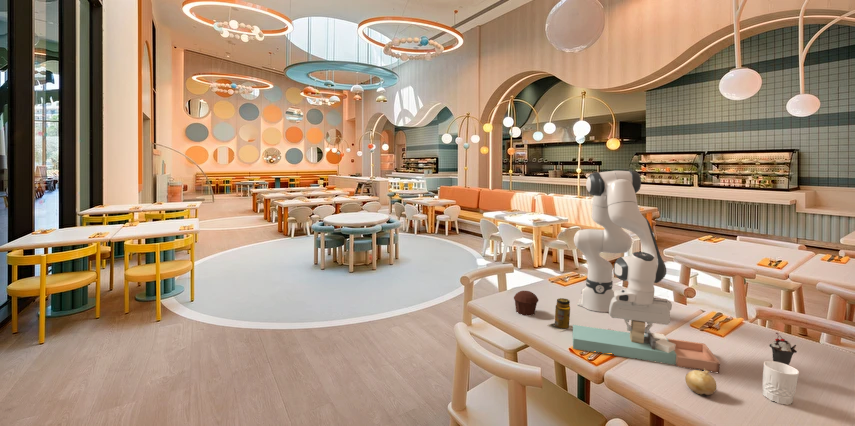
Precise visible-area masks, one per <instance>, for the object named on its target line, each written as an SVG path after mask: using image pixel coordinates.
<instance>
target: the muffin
mask: <svg viewBox="0 0 855 426" xmlns="http://www.w3.org/2000/svg"><path fill="white" fill-rule="evenodd" d="M513 300H514V305H515V312H516V313H517V312H518V313H517V314H518V315H521V314H522V315H521V316H529V315H531V316H534V315H535V314H536V309H537V304H538V303H539V298H538V296H537V295H536V294H535V293H534V292H532V291H529V290H521V291H518V292H516V293H515V294H514V296H513ZM533 314H534V315H533Z"/></svg>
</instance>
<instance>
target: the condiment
mask: <svg viewBox="0 0 855 426" xmlns="http://www.w3.org/2000/svg"><path fill="white" fill-rule="evenodd" d="M570 304H571V301H570V300H569V299H568V298H561V297H560V298H557V299H556V305H555V312H554V323H551V324H547V326H548V327H550V328H551V329H554V330H556V331H558V332H565V331H567V330H570V329H573V325H572V326H571V325H570V320H571V319H570V316H571V305H570Z"/></svg>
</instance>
